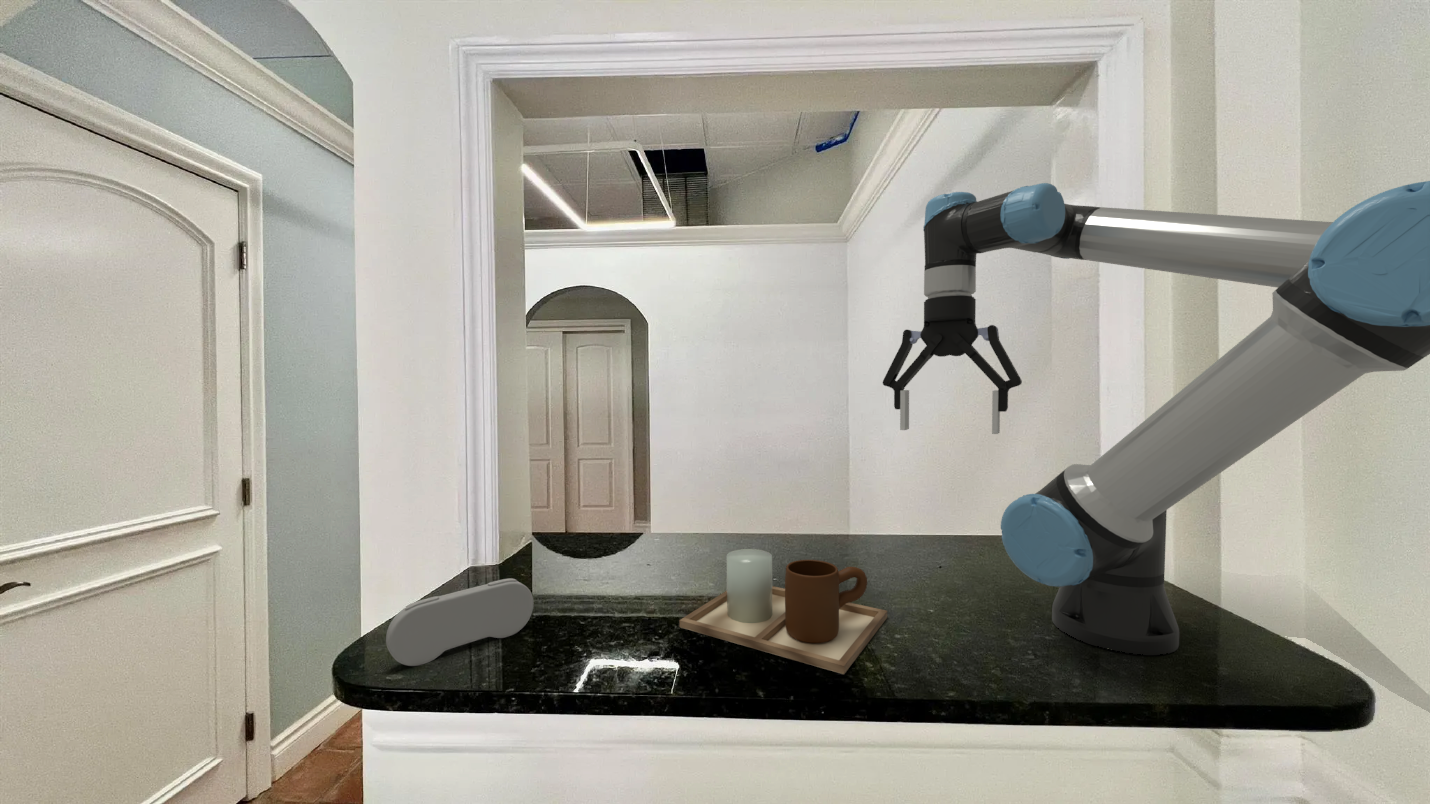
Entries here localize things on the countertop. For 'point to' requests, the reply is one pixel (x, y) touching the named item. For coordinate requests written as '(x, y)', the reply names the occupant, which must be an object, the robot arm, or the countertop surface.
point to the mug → (817, 598)
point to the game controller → (458, 620)
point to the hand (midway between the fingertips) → (948, 431)
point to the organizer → (775, 639)
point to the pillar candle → (749, 585)
